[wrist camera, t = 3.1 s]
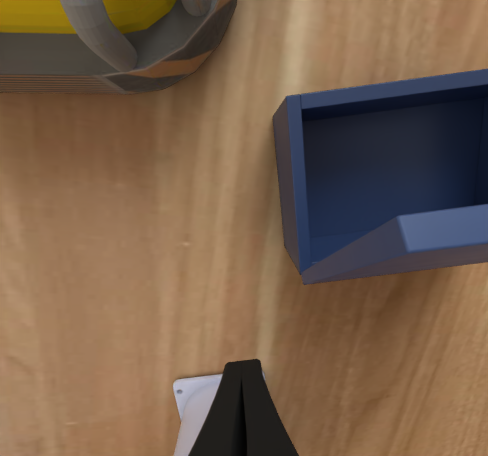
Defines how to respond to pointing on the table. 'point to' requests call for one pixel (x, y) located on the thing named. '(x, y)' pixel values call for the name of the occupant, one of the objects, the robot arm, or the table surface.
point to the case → (378, 157)
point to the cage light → (106, 43)
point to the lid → (410, 246)
